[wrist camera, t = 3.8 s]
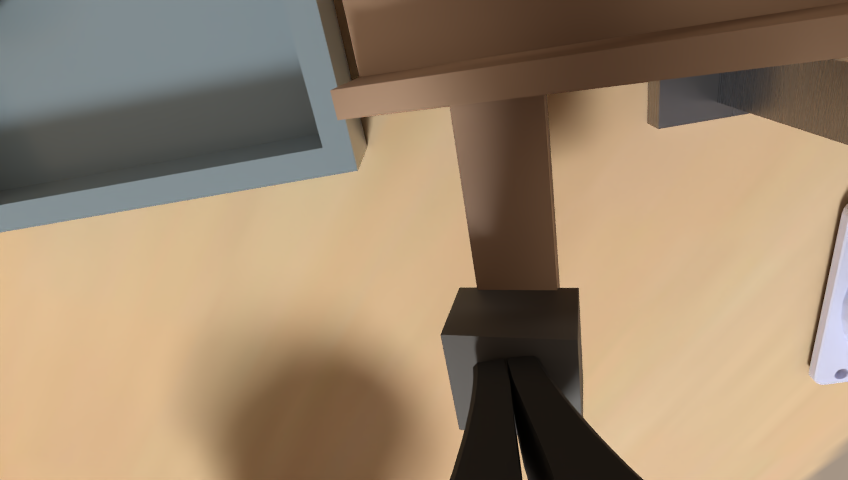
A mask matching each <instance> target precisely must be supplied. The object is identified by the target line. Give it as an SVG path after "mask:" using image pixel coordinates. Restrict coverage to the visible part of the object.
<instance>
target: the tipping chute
mask: <svg viewBox="0 0 848 480" xmlns="http://www.w3.org/2000/svg"><path fill="white" fill-rule="evenodd" d="M342 1H343V6H344V10H345V15H346V19H347V24H348V28H349V33H350V37H351V42H352V46H353V51H354V55H355V59H356V64H357V68H358V73H359V78H356V79H354V80H352V81H350V82H347V83H345V84H343V85H341V86H339V87H336V88H334V89H332V90H330V92H331V96H332V100H333V104H334V108H335V112H336V116H337V120H344V119H352V118H360V117H368V116H376V115H384V114H392V113H400V112H408V111H417V110H425V109H433V108H441V107H449V106H450V112H451V119H452V125H453V132H454V138H455V145H456V152H457V158H458V165H459V171H460V178H461V185H462V191H463V198H464V204H465V211H466V218H467V224H468V231H469V237H470V244H471V251H472V257H473V264H474V270H475V277H476V284H477V288H459V290H458V293H457V295H456V298H455V300H454V303H453V305H452V308H451V310H450V313H449V315H448V318H447V320H446V323H445V325H444V328H443V330H442V333H441V339H442V344H443V349H444V354H445V359H446V364H447V369H448V374H449V379H450V384H451V390H452V395H453V400H454V405H455V410H456V415H457V420H458V425H459V429H461V430H465V426H466V421H467V417H468V412H469V407H470V401H471V395H472V387H473V366H474V365H475V364H476V363H477V362H484V361H491V360H498V359H504V362H505V366H506V369H507V373H508V376H509V371H508V363H507V358H512V357H519V356H535V357H537V358H538V359H540V361H541V363H542V364H543V366H544V367H545V369H546V371H547V372H548V373H549V375H550V376H551V378H552V379H553V381H554V382H555V383H556V385H557V386H558V387H559V389H560V390H561V391H562V393H563V394H564V395H565V396H566V398H567V399H568V400H569V401H570V403H571V404H572V405H573V406H574V408H575V409H576V410H577V411H578V412H579V413H580V415H581V416H582V417H583V370H582V349H581V327H580V306H579V288H560V284H559V269H558V254H557V239H556V224H555V209H554V194H553V179H552V164H551V149H550V133H549V118H548V103H547V94H554V93H562V92H571V91H579V90H587V89H595V88H603V87H611V86H619V85H627V84H635V83H643V82H652V81H660V80H668V79H676V78H684V77H692V76H700V75H708V74H716V73H724V72H733V71H741V70H749V69H757V68H765V67H773V66H781V65H789V64H797V63H806V62H814V61H822V60H830V59H838V58H846V57H848V0H342ZM509 380H510V379H509ZM510 387H511V386H510ZM511 395H512V394H511ZM512 403H513V402H512ZM514 418H515V417H514ZM515 426H516V424H515ZM516 433H517V429H516ZM517 435H518V434H517Z"/></svg>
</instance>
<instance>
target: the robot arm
mask: <svg viewBox="0 0 848 480" xmlns="http://www.w3.org/2000/svg"><path fill="white" fill-rule="evenodd" d="M507 363H508V371H509V376H508V373H507V369H506V366H505V362H504V359H498V360H491V361H484V362H477V363H476V364H475V365H474V366H473V387H472V395H471V401H470V407H469V412H468V417H467V421H466V426H465V430H464V434H463V438H462V442H461V445H460V449H459V452H458V455H457V459H456V462H455V465H454V469H453V472H452V475H451V478H450V480H522V472H521V464H520V456H519V449H518V441H517V434H518V439H519V444H520V449H521V454H522V458H523V463H524V468H525V471H526V474H527V478H528V480H643V479H642V478H641V477H640V476H639V475H638V474H637V473H636V472H634V471H633V470H632V469H631V468H630V467H629V466H628V465H627V464H626V463H625V462H624V461H623V460H622V459H621V458H620V457H619V456H618V455H617V454H616V453H615V452H614V451H613V450H612V449H611V448H610V447H609V446H608V445H607V443H606V442H605V441H604V440H603V439H602V438H601V437H600V436H599V435H598V434H597V433H596V432H595V431H594V430H593V428H592V427H591V426H590V425H589V424H588V423H587V422H586V420H585V419H584V418H583V417H582V416H581V415H580V413H579V412H578V411H577V410H576V409H575V408H574V406H573V405H572V404H571V403H570V401H569V400H568V399H567V398H566V396H565V395H564V394H563V393H562V391H561V390H560V389H559V387H558V386H557V385H556V383H555V382H554V381H553V379H552V378H551V376H550V375H549V373H548V372H547V371H546V369H545V367H544V366H543V364H542V363H541V361H540V359H538V358H537V357H535V356H519V357H512V358H507ZM809 376H810V377H811V378H812V379H813V380H814V381H815V382H816V383H818V384H833V383H841V382H848V204H847V205H846V206H845V207H844V210H843V212H842V215H841V220H840V225H839V230H838V235H837V239H836V244H835V249H834V254H833V258H832V263H831V268H830V273H829V278H828V282H827V287H826V292H825V297H824V301H823V306H822V311H821V316H820V321H819V325H818V330H817V335H816V340H815V345H814V349H813V354H812V359H811V364H810V368H809ZM509 379H510V380H509ZM510 386H511V387H510ZM511 394H512V395H511ZM512 402H513V403H512ZM514 417H515V418H514ZM515 424H516V426H515ZM516 429H517V433H516Z"/></svg>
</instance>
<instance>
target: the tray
mask: <svg viewBox="0 0 848 480" xmlns="http://www.w3.org/2000/svg"><path fill="white" fill-rule="evenodd" d="M350 81H352V79H351V75H350V71H349V66H348V62H347V58H346V53H345V49H344V45H343V41H342V36H341V32H340V28H339V23H338V19H337V15H336V10H335V6H334V2H333V0H0V232H5V231H11V230H17V229H23V228H29V227H34V226H40V225H46V224H52V223H57V222H63V221H69V220H75V219H81V218H86V217H92V216H98V215H104V214H110V213H115V212H121V211H127V210H133V209H139V208H144V207H150V206H156V205H162V204H167V203H173V202H179V201H185V200H191V199H196V198H202V197H208V196H214V195H220V194H225V193H231V192H237V191H243V190H249V189H254V188H260V187H266V186H272V185H277V184H283V183H289V182H295V181H301V180H306V179H312V178H318V177H324V176H330V175H335V174H341V173H347V172H353V171H358V169H359V167H360V164H361V162H362V159H363V157H364V154H365V152H366V149H367V144H366V140H365V136H364V131H363V127H362V123H361V118H352V119H344V120H337V116H336V112H335V108H334V104H333V100H332V96H331V92H330V90H332V89H334V88H336V87H339V86H341V85H343V84H345V83H347V82H350Z"/></svg>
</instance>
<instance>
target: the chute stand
mask: <svg viewBox="0 0 848 480" xmlns="http://www.w3.org/2000/svg"><path fill="white" fill-rule="evenodd" d="M748 113H751V114H755V115H758V116H761V117H764V118H767V119H770V120H773V121H776V122H779V123H782V124H785V125H788V126H791V127H794V128H798V129H801V130H804V131H807V132H810V133H813V134H816V135H819V136H822V137H825V138H828V139H831V140H834V141H838V142H841V143H844V144H847V145H848V57H846V58H838V59H830V60H822V61H814V62H806V63H797V64H789V65H781V66H773V67H765V68H757V69H749V70H741V71H733V72H724V73H716V74H708V75H700V76H692V77H684V78H676V79H668V80H660V81H652V82H648V124H650V125H652V126H654V127H656V128H658V129H661V128H667V127H672V126H678V125H684V124H690V123H696V122H702V121H708V120H713V119H719V118H725V117H731V116H737V115H743V114H748Z"/></svg>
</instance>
